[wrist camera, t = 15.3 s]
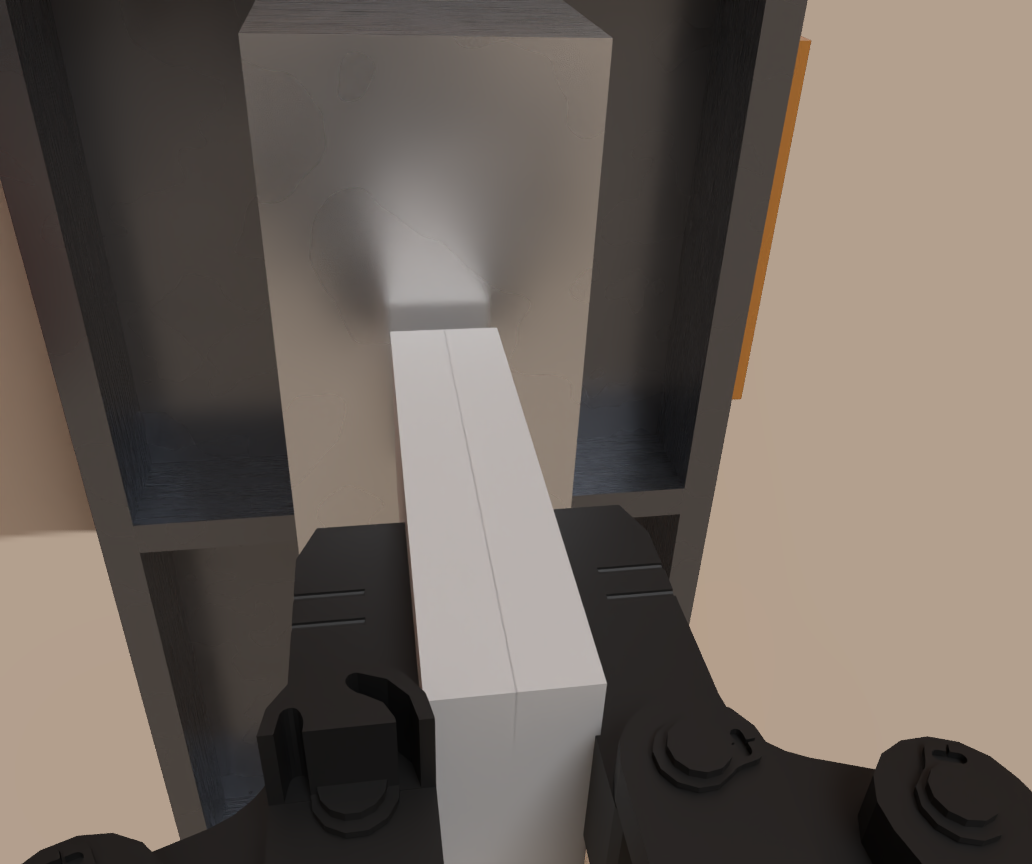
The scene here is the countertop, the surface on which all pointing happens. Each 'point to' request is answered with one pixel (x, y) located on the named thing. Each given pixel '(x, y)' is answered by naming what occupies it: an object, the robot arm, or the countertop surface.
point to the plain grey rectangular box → (421, 217)
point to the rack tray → (249, 333)
